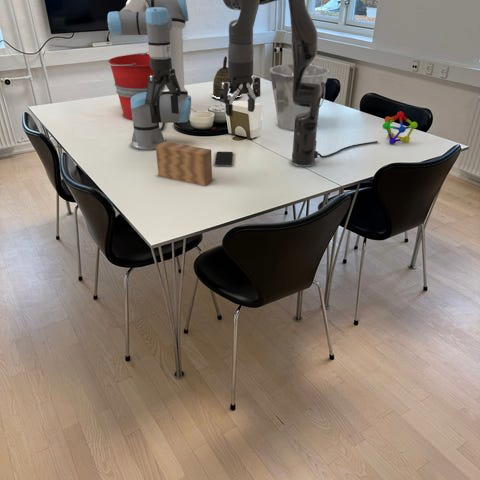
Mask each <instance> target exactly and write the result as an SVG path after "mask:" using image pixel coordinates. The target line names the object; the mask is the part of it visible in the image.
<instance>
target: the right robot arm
mask: <svg viewBox="0 0 480 480" xmlns="http://www.w3.org/2000/svg"><path fill="white" fill-rule="evenodd" d="M222 1H223V4H224V5H225V6H226V7H227V8H228V9H230V10H233V11H240V12H239V15H238V19H234V20H231V21H230V22H229V24H228V49H227V68H228V75H229V82H221V83H220V100H219V102H220V103H223V104H225V114H226V116H228V117H230V118H231V117H233V116H234V115H233V114H234V111H233V109H234V108H233V107H234V106H233V105H234V104H233V103H234V101H235V100H236V99H235V98H236V97H237V96H238V95H241V96H242V95H246V96H247V98H248V99H247V112H250V113H254V111H255V109H256V105H255V104H256V100H257V98H260V97H261V77H259V76H255V75H254V53H255V52H254V26H255V22H256V19H257V15H258V10H259V6H262V5H263V6H264V5H267V4H270V3H274V2H278V1H279V0H222ZM287 2H288V8H289V17H290V18H289V19H290V34H291V35H290V41H291V57H292V64H293V95H292V96H293V102H294V104H295V105H297V106H303V107H310V111H308V112H306V113H302V114H298V115H297V116H296V117H295V124H294V130H293V140H292V154H291V164H292V166H295V167H299V168H310V167H313V166H314V163H316V161H315V160H316V159H318V158H319V157H320V158H325V159H326V158H329V157H332V156H334V155H335V154H336V155H337V154H339V153H340V152H342V151H344V150H347V149H351V148H355V147H360V146H366V145H372V144H378V143H379V141H378V140H374V141H369V142H362V143H356V144H352V145H348V146H345V147H343V148H340V149H339V150H337V151H335V152H332V153H330V154H327V155H322V154H321V153H320V152H319V151H317V143H318V142H317V131H318V124H319V123H318V121H319V115H320V114H319V113H320V108H321V107H320V105H321V101H322V97H321V93H322V88H321V85H320V84H319V83H310V82H303V74H304V73H305V71H306V69H307V67H308V66H309V65H311V63H312V62H313V61H314V59H315V57H316V55H317V53H318V48H319V47H318V46H319V45H318V43H319V41H318V39H319V37H318V30H317V27H316V25H315V22H314V20H313V19H312V17H311V15H310V13H309V11H308V9H307V5H306V0H287ZM229 87H230V89H229ZM228 89H229V91H228ZM232 92H233V93H234V94H232ZM320 100H321V101H320ZM319 107H320V108H319ZM318 156H319V157H318Z"/></svg>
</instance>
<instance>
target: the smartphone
mask: <svg viewBox="0 0 480 480" xmlns="http://www.w3.org/2000/svg"><path fill="white" fill-rule="evenodd" d="M233 159H234V152H233V151H217V152H216V154H215V160H214V166H215V167H232V166H233Z"/></svg>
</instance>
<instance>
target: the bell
mask: <svg viewBox="0 0 480 480" xmlns="http://www.w3.org/2000/svg"><path fill="white" fill-rule="evenodd" d="M227 65H228V56H224V58H223V63H222V67H221V68H219V69H218V70H217V71H216V73H215V75H214V78H213V81H212V83H213V84H212V95H214V96H216V97H220V83H221V82H229V75H228V66H227ZM229 89H230V87H229ZM229 89H228V91H229ZM232 94H234V93H233V92H232ZM238 96H240V95H238Z"/></svg>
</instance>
